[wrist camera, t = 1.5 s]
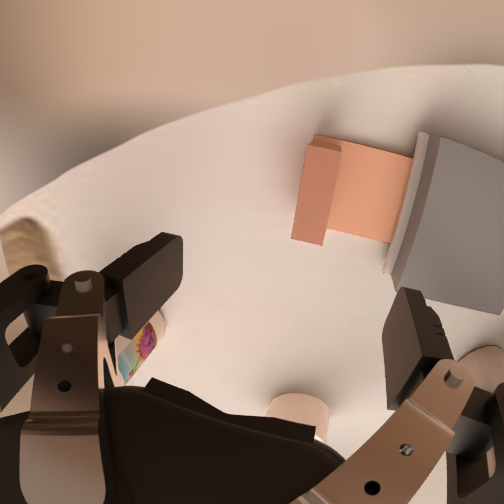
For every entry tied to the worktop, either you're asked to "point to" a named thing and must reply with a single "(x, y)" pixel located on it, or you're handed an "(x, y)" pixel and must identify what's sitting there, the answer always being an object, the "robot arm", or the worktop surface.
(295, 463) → the robot arm
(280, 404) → the base with upright slab
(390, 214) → the peach l-shaped block
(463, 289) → the grey square block
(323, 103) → the worktop surface
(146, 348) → the milk bottle
